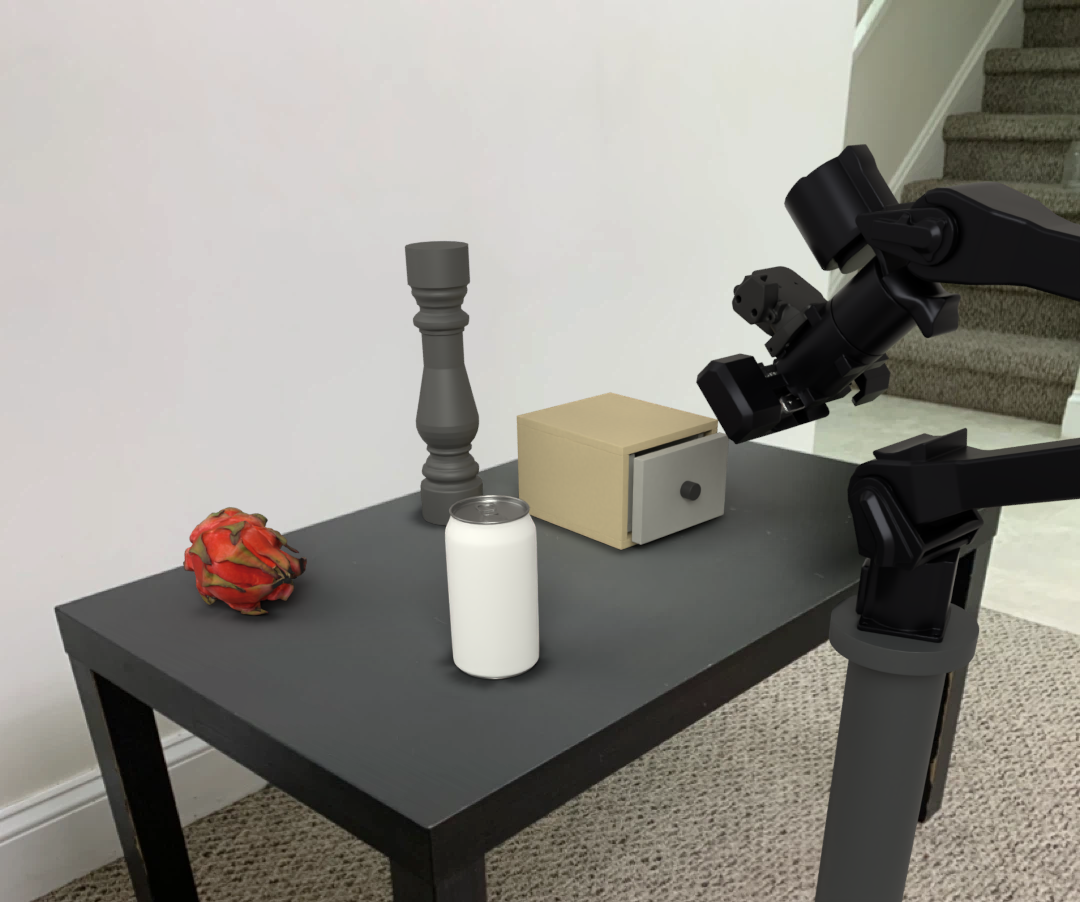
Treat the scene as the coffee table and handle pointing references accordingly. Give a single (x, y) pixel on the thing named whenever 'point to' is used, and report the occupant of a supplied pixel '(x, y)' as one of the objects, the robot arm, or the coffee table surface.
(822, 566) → the coffee table surface
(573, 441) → the small drawer cabinet
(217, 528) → the dragon fruit
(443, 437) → the candle holder
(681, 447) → the grey drawer with knob
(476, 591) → the can
